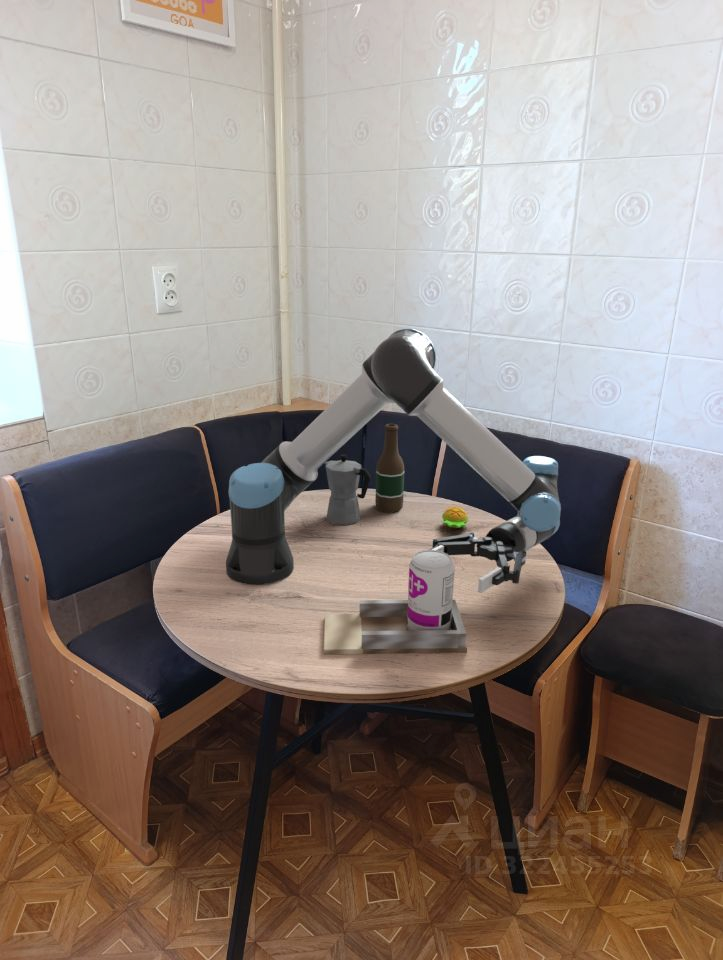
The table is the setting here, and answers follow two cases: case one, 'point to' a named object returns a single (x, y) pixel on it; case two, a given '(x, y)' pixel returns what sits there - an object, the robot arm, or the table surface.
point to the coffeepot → (345, 490)
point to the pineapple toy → (455, 517)
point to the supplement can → (430, 591)
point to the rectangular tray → (389, 631)
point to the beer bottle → (390, 474)
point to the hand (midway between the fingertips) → (449, 573)
